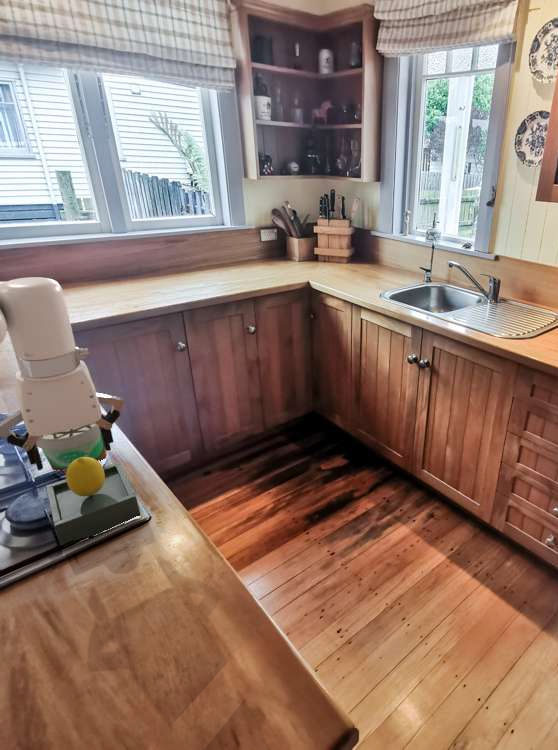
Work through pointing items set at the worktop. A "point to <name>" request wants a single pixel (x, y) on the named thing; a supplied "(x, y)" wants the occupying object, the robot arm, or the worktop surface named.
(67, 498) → the grey green square tray
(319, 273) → the worktop surface
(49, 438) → the food container
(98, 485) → the lemon
